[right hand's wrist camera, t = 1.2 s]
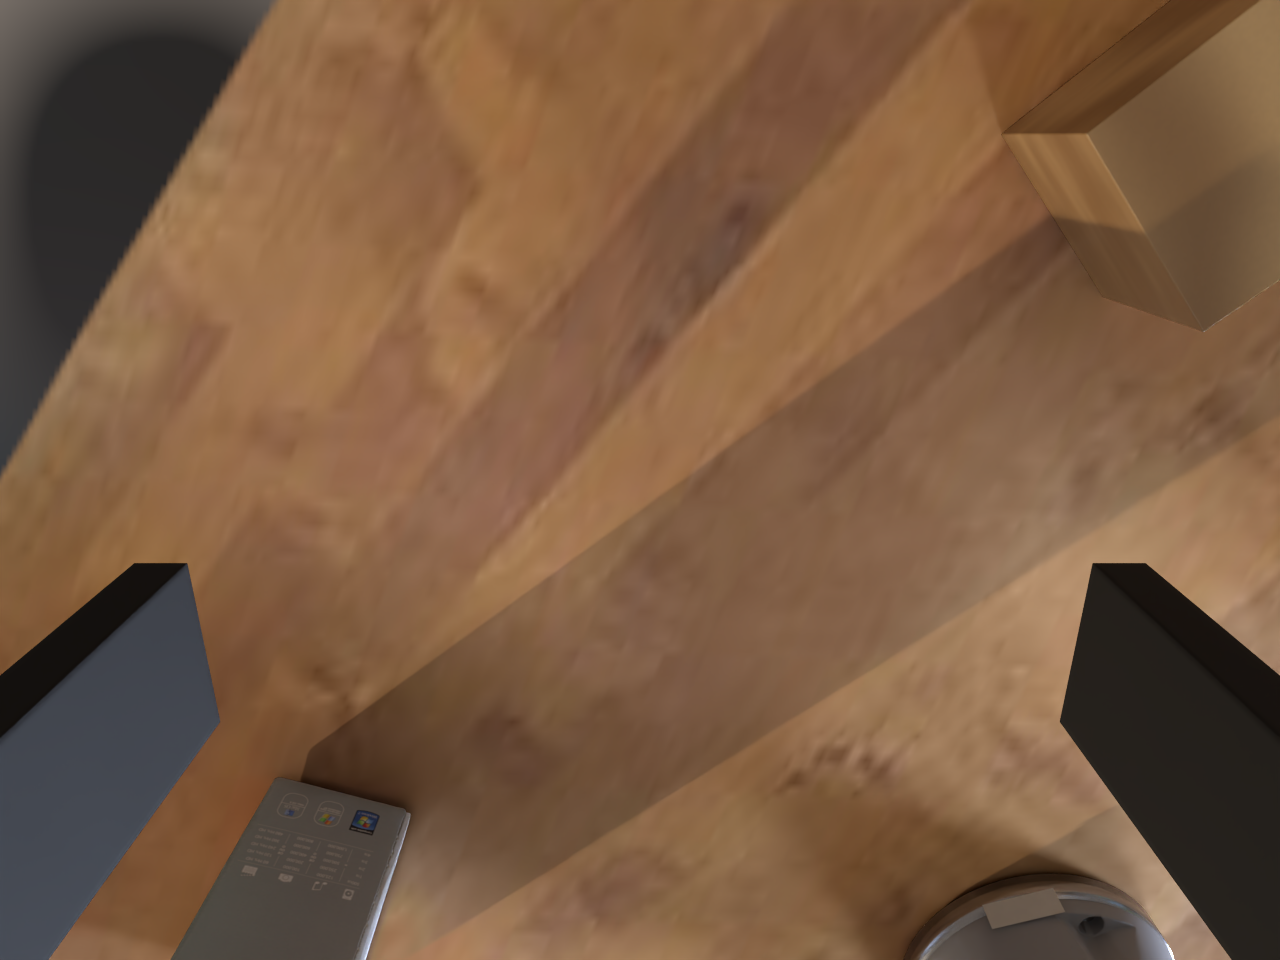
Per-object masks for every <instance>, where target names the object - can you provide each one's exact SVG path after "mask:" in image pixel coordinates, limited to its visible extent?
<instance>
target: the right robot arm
mask: <svg viewBox="0 0 1280 960" xmlns="http://www.w3.org/2000/svg"><path fill="white" fill-rule="evenodd" d="M219 723H220V718H219V714H218V709H217V704H216V699H215V694H214V690H213V685H212V680H211V675H210V670H209V665H208V661H207V656H206V651H205V646H204V641H203V637H202V632H201V627H200V622H199V617H198V613H197V608H196V603H195V598H194V593H193V589H192V584H191V579H190V574H189V569H188V564H187V563H134V564H133V565H132V566H131V567H129V568H128V569H127V570H126V571H125V572H123V573H122V574H121V575H120V576H119V577H117V578H116V579H115V580H114V581H113V582H111V583H110V584H109V585H108V586H107V587H105V588H104V589H103V590H102V591H101V592H100V593H98V594H97V595H96V596H95V597H94V598H92V599H91V600H90V601H89V602H88V603H86V604H85V605H84V606H83V607H82V608H80V609H79V610H78V611H77V612H76V613H74V614H73V615H72V616H71V617H70V618H68V619H67V620H66V621H65V622H64V623H62V624H61V625H60V626H59V627H58V628H56V629H55V630H54V631H53V632H52V633H51V634H49V635H48V636H47V637H46V638H45V639H43V640H42V641H41V642H40V643H39V644H37V645H36V646H35V647H34V648H33V649H31V650H30V651H29V652H28V653H27V654H25V655H24V656H23V657H22V658H21V659H19V660H18V661H17V662H16V663H15V664H13V665H12V666H11V667H10V668H9V669H7V670H6V671H5V672H4V673H3V674H2V675H0V960H48V959H49V958H50V957H51V955H52V954H53V953H54V951H55V950H56V948H57V947H58V946H59V944H60V943H61V941H62V940H63V939H64V937H65V936H66V935H67V933H68V932H69V930H70V929H71V928H72V926H73V925H74V923H75V922H76V921H77V919H78V918H79V917H80V915H81V914H82V912H83V911H84V910H85V908H86V907H87V905H88V904H89V903H90V901H91V900H92V899H93V897H94V896H95V894H96V893H97V892H98V890H99V889H100V887H101V886H102V885H103V883H104V882H105V881H106V879H107V878H108V876H109V875H110V874H111V872H112V871H113V869H114V868H115V867H116V865H117V864H118V863H119V861H120V860H121V858H122V857H123V856H124V854H125V853H126V851H127V850H128V849H129V847H130V846H131V845H132V843H133V842H134V840H135V839H136V838H137V836H138V835H139V833H140V832H141V831H142V829H143V828H144V826H145V825H146V824H147V822H148V821H149V820H150V818H151V817H152V815H153V814H154V813H155V811H156V810H157V808H158V807H159V806H160V804H161V803H162V802H163V800H164V799H165V797H166V796H167V795H168V793H169V792H170V790H171V789H172V788H173V786H174V785H175V784H176V782H177V781H178V779H179V778H180V777H181V775H182V774H183V772H184V771H185V770H186V768H187V767H188V766H189V764H190V763H191V761H192V760H193V759H194V757H195V756H196V754H197V753H198V752H199V750H200V749H201V748H202V746H203V745H204V743H205V742H206V741H207V739H208V738H209V736H210V735H211V734H212V732H213V731H214V730H215V728H216V727H217V725H218V724H219ZM1060 723H1061V724H1062V725H1063V727H1064V728H1065V730H1066V731H1067V732H1068V734H1069V735H1070V736H1071V738H1072V739H1073V741H1074V742H1075V743H1076V745H1077V746H1078V748H1079V749H1080V750H1081V752H1082V753H1083V754H1084V756H1085V757H1086V759H1087V760H1088V761H1089V763H1090V764H1091V766H1092V767H1093V768H1094V770H1095V771H1096V772H1097V774H1098V775H1099V777H1100V778H1101V779H1102V781H1103V782H1104V784H1105V785H1106V786H1107V788H1108V789H1109V790H1110V792H1111V793H1112V795H1113V796H1114V797H1115V799H1116V800H1117V802H1118V803H1119V804H1120V806H1121V807H1122V808H1123V810H1124V811H1125V813H1126V814H1127V815H1128V817H1129V818H1130V820H1131V821H1132V822H1133V824H1134V825H1135V826H1136V828H1137V829H1138V831H1139V832H1140V833H1141V835H1142V836H1143V838H1144V839H1145V840H1146V842H1147V843H1148V845H1149V846H1150V847H1151V849H1152V850H1153V851H1154V853H1155V854H1156V856H1157V857H1158V858H1159V860H1160V861H1161V863H1162V864H1163V865H1164V867H1165V868H1166V869H1167V871H1168V872H1169V874H1170V875H1171V876H1172V878H1173V879H1174V881H1175V882H1176V883H1177V885H1178V886H1179V887H1180V889H1181V890H1182V892H1183V893H1184V894H1185V896H1186V897H1187V899H1188V900H1189V901H1190V903H1191V904H1192V905H1193V907H1194V908H1195V910H1196V911H1197V912H1198V914H1199V915H1200V917H1201V918H1202V919H1203V921H1204V922H1205V923H1206V925H1207V926H1208V928H1209V929H1210V930H1211V932H1212V933H1213V935H1214V936H1215V937H1216V939H1217V940H1218V941H1219V943H1220V944H1221V946H1222V947H1223V948H1224V950H1225V951H1226V953H1227V954H1228V955H1229V957H1230V958H1231V959H1232V960H1280V675H1278V674H1277V673H1276V672H1275V671H1274V670H1273V669H1271V668H1270V667H1269V666H1268V665H1267V664H1265V663H1264V662H1263V661H1262V660H1261V659H1259V658H1258V657H1257V656H1256V655H1255V654H1253V653H1252V652H1251V651H1250V650H1249V649H1247V648H1246V647H1245V646H1244V645H1243V644H1241V643H1240V642H1239V641H1238V640H1237V639H1235V638H1234V637H1233V636H1232V635H1231V634H1229V633H1228V632H1227V631H1226V630H1225V629H1224V628H1222V627H1221V626H1220V625H1219V624H1218V623H1216V622H1215V621H1214V620H1213V619H1212V618H1210V617H1209V616H1208V615H1207V614H1206V613H1204V612H1203V611H1202V610H1201V609H1200V608H1198V607H1197V606H1196V605H1195V604H1194V603H1192V602H1191V601H1190V600H1189V599H1188V598H1186V597H1185V596H1184V595H1183V594H1182V593H1180V592H1179V591H1178V590H1177V589H1176V588H1175V587H1173V586H1172V585H1171V584H1170V583H1169V582H1167V581H1166V580H1165V579H1164V578H1163V577H1161V576H1160V575H1159V574H1158V573H1157V572H1155V571H1154V570H1153V569H1152V568H1151V567H1149V566H1148V565H1147V564H1146V563H1093V564H1092V569H1091V574H1090V579H1089V584H1088V589H1087V593H1086V598H1085V603H1084V608H1083V613H1082V617H1081V622H1080V627H1079V632H1078V637H1077V641H1076V646H1075V651H1074V656H1073V661H1072V665H1071V670H1070V675H1069V680H1068V685H1067V690H1066V694H1065V699H1064V704H1063V709H1062V714H1061V718H1060ZM904 960H1174V958H1173V955H1172V952H1171V950H1170V948H1169V946H1168V944H1167V943H1166V941H1165V940H1164V938H1163V936H1162V935H1161V933H1160V932H1159V930H1158V929H1157V927H1156V926H1155V924H1154V923H1153V921H1152V920H1151V918H1150V917H1149V915H1148V914H1147V912H1146V911H1145V910H1144V909H1143V908H1142V907H1141V906H1140V905H1139V904H1138V903H1137V902H1136V901H1135V900H1134V899H1133V898H1131V897H1130V896H1128V895H1127V894H1126V893H1124V892H1123V891H1121V890H1119V889H1117V888H1115V887H1113V886H1111V885H1108V884H1106V883H1103V882H1101V881H1097V880H1094V879H1091V878H1086V877H1081V876H1075V875H1067V874H1035V875H1025V876H1020V877H1014V878H1009V879H1005V880H1002V881H998V882H995V883H992V884H989V885H986V886H983V887H981V888H978V889H976V890H974V891H972V892H970V893H968V894H966V895H964V896H962V897H960V898H958V899H957V900H955V901H953V902H952V903H950V904H949V905H947V906H946V907H945V908H943V909H942V910H940V911H939V912H938V913H937V914H936V915H935V916H933V917H932V918H931V919H930V920H929V921H928V922H927V923H926V924H925V925H924V926H923V927H922V929H921V930H920V931H919V932H918V934H917V935H916V936H915V938H914V940H913V941H912V943H911V944H910V946H909V948H908V950H907V952H906V954H905V957H904Z"/></svg>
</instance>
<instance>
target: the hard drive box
mask: <svg viewBox="0 0 1280 960" xmlns="http://www.w3.org/2000/svg"><path fill="white" fill-rule="evenodd" d="M410 816H411V814H410V813H407V812H406V810H405V809H404V808H400V807H395V806H392V805H388V804H385V803H380V802H376V801H372V800H368V799H364V798H360V797H356V796H353V795H349V794H345V793H341V792H337V791H333V790H329V789H325V788H321V787H317V786H313V785H309V784H305V783H301V782H297V781H293V780H289V779H285V778H281V777H278V778H275V779H274V781H273V783H272V785H271V786H270V788H269V790H268V791H267V793H266V795H265V797H264V798H263V800H262V802H261V803H260V805H259V807H258V808H257V810H256V812H255V814H254V815H253V817H252V819H251V820H250V822H249V824H248V825H247V827H246V829H245V831H244V832H243V834H242V836H241V838H240V839H239V841H238V843H237V845H236V846H235V848H234V850H233V852H232V853H231V855H230V857H229V859H228V860H227V862H226V864H225V865H224V867H223V869H222V871H221V872H220V874H219V876H218V878H217V880H216V881H215V883H214V885H213V887H212V888H211V890H210V892H209V893H208V895H207V897H206V899H205V900H204V902H203V904H202V906H201V908H200V909H199V911H198V913H197V915H196V916H195V918H194V920H193V922H192V923H191V925H190V927H189V929H188V930H187V932H186V934H185V936H184V937H183V939H182V941H181V943H180V944H179V946H178V948H177V950H176V951H175V953H174V955H173V957H172V958H171V960H366V957H367V954H368V950H369V947H370V944H371V941H372V938H373V934H374V931H375V928H376V925H377V922H378V919H379V916H380V912H381V909H382V906H383V903H384V900H385V897H386V894H387V891H388V888H389V884H390V881H391V878H392V875H393V872H394V869H395V866H396V862H397V859H398V856H399V853H400V850H401V847H402V844H403V841H404V837H405V834H406V831H407V828H408V824H409V820H410Z"/></svg>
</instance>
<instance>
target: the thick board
mask: <svg viewBox="0 0 1280 960" xmlns="http://www.w3.org/2000/svg"><path fill="white" fill-rule="evenodd" d="M1002 137H1003V138H1004V140H1005V141H1006V143H1007V145H1008V146H1009V148H1010V149H1011V151H1012V153H1013V154H1014V156H1015V157H1016V159H1017V161H1018V162H1019V164H1020V165H1021V167H1022V169H1023V170H1024V172H1025V173H1026V175H1027V176H1028V178H1029V180H1030V181H1031V183H1032V184H1033V186H1034V188H1035V189H1036V191H1037V192H1038V194H1039V196H1040V197H1041V199H1042V200H1043V202H1044V204H1045V205H1046V207H1047V208H1048V210H1049V212H1050V213H1051V215H1052V216H1053V218H1054V220H1055V221H1056V223H1057V224H1058V226H1059V228H1060V229H1061V231H1062V232H1063V234H1064V236H1065V237H1066V239H1067V240H1068V242H1069V244H1070V245H1071V247H1072V248H1073V250H1074V252H1075V253H1076V255H1077V256H1078V258H1079V260H1080V261H1081V263H1082V264H1083V266H1084V268H1085V269H1086V271H1087V272H1088V274H1089V276H1090V277H1091V279H1092V280H1093V282H1094V283H1095V285H1096V287H1097V288H1098V290H1099V291H1100V293H1101V295H1102V296H1103V297H1104V298H1107V299H1110V300H1113V301H1116V302H1118V303H1121V304H1124V305H1127V306H1130V307H1133V308H1136V309H1139V310H1142V311H1144V312H1147V313H1150V314H1153V315H1156V316H1159V317H1162V318H1165V319H1167V320H1170V321H1173V322H1176V323H1179V324H1182V325H1185V326H1188V327H1191V328H1193V329H1196V330H1199V331H1202V332H1204V331H1206V330H1207V329H1209V328H1210V327H1212V326H1213V325H1215V324H1216V323H1218V322H1219V321H1221V320H1222V319H1223V318H1225V317H1226V316H1228V315H1229V314H1231V313H1232V312H1234V311H1235V310H1237V309H1238V308H1239V307H1241V306H1242V305H1244V304H1245V303H1247V302H1248V301H1250V300H1251V299H1253V298H1254V297H1256V296H1257V295H1258V294H1260V293H1261V292H1263V291H1264V290H1266V289H1267V288H1269V287H1270V286H1272V285H1273V284H1275V283H1276V282H1277V281H1279V280H1280V0H1171V1H1169V2H1168V3H1167V4H1166V5H1164V6H1163V7H1162V8H1161V9H1159V10H1158V11H1157V12H1156V13H1154V14H1153V15H1152V16H1150V17H1149V18H1148V19H1147V20H1145V21H1144V22H1143V23H1142V24H1140V25H1139V26H1138V27H1136V28H1135V29H1134V30H1133V31H1131V32H1130V33H1129V34H1128V35H1126V36H1125V37H1124V38H1123V39H1121V40H1120V41H1119V42H1117V43H1116V44H1115V45H1114V46H1112V47H1111V48H1110V49H1109V50H1107V51H1106V52H1105V53H1103V54H1102V55H1101V56H1100V57H1098V58H1097V59H1096V60H1095V61H1093V62H1092V63H1091V64H1090V65H1088V66H1087V67H1086V68H1084V69H1083V70H1082V71H1081V72H1079V73H1078V74H1077V75H1076V76H1074V77H1073V78H1072V79H1071V80H1069V81H1068V82H1067V83H1065V84H1064V85H1063V86H1062V87H1060V88H1059V89H1058V90H1057V91H1055V92H1054V93H1053V94H1051V95H1050V96H1049V97H1048V98H1046V99H1045V100H1044V101H1043V102H1041V103H1040V104H1039V105H1038V106H1036V107H1035V108H1034V109H1032V110H1031V111H1030V112H1029V113H1027V114H1026V115H1025V116H1024V117H1022V118H1021V119H1020V120H1018V121H1017V122H1016V123H1015V124H1013V125H1012V126H1011V127H1010V128H1008V129H1007V130H1006V131H1005V132H1003V133H1002Z"/></svg>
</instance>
